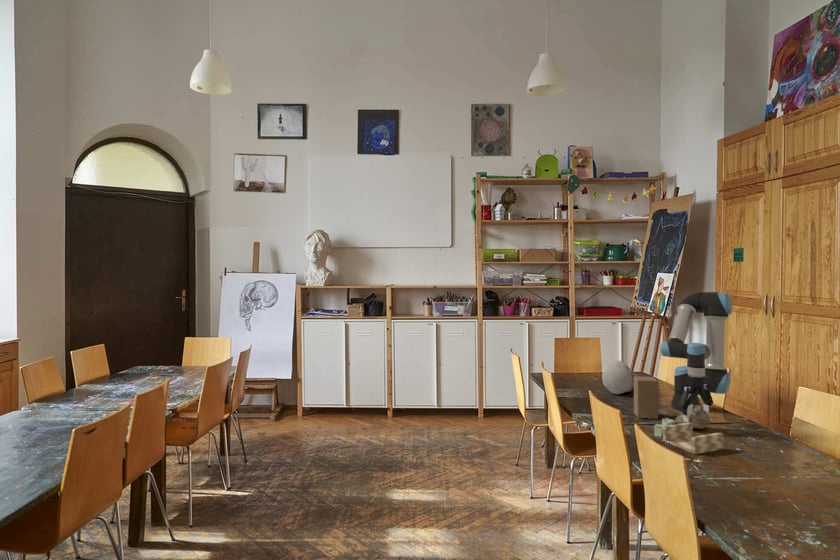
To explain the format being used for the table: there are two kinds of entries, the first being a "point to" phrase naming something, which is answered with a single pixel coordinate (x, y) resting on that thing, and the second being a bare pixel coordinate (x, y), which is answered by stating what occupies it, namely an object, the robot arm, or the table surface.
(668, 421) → the clip
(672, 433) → the cradle
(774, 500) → the table surface
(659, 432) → the clip
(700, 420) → the lumpy boulder
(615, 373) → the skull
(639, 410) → the wooden block
